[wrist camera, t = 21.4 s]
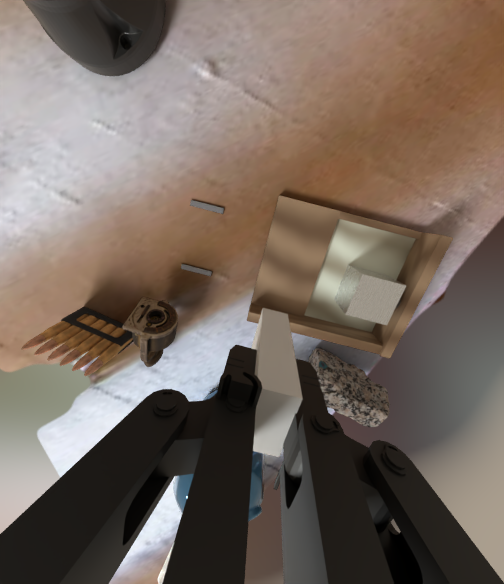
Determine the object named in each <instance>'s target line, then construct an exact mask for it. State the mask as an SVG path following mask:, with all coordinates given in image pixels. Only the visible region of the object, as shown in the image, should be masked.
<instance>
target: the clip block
mask: <svg viewBox="0 0 504 584" xmlns="http://www.w3.org/2000/svg"><path fill="white" fill-rule="evenodd" d="M405 288H406V285H404V284H402V283H401V282H399V281H397V280H395V279H393V278H391V277H389V276H387V275H386V274H382V273H378V272H375V271H371V270H367V269H363V268H359V267H356V266H352V265H348V266H347V268H346V271H345V273H344V276H343V278H342V281H341V283H340V286H339V288H338V291H337V294H336V296H335V299H334V300H335V301H336V303H337V304H338V305H339V307H340V308H341V309H342V311H343V312H344V313H345V315H349V316H353V317H356V318H360V319H364V320H368V321H372V322H376V323H380V324H383V325H387V324H388V322H389V320H390V318H391V316H392V314H393V312H394V310H395V309H396V308H397V307H398V306H399V305H400V303H401V296H402V294H403V292H404V290H405Z"/></svg>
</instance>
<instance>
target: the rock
mask: <svg viewBox="0 0 504 584" xmlns="http://www.w3.org/2000/svg"><path fill="white" fill-rule="evenodd" d="M308 362H310V363H311V365H312V366H313V367H314V369H315V370H316V372H317V376H318V380H319V382H320V388H321V389H322V393H323V396H324V399H325V403H326V406H327V407H329V408H332V409H334V410H335V411H337V412H338V413H340V414H342V415H345V416H347V417H351V418H352V419H354V420H355V421H357V422H358V423H360V424H361V425H363V426H368V427H377V426H378V425H379V424H380V423H382V422H383V421H384V420H385V419H386V418H387V417H388V414H389V402H388V394H387V393H388V392H387V390H386V389H385V388H384V387H382V386H380V385H379V384H375V383H374V382H372V381H371V380H370V379H369V378H368V377H367V376H366V374H365V373H364V371H363V370H361V369H359V368H357V367H356V366H354V365H351V364H347V363H345V362H344V361H342V360H341V359H339V358H338V357H337V356H335V355H333V354H332V353H330V352H327V351H324V350H323V349H319V348H316V349H314V350H313V353H312V354H311V356H310V357H309V361H308Z"/></svg>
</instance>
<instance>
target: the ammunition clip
mask: <svg viewBox="0 0 504 584" xmlns="http://www.w3.org/2000/svg"><path fill="white" fill-rule="evenodd" d="M123 325H124V324H122V323H120V322H118V321H115V320H113V319H111V318H109V317H106V316H104V315H102V314H100V313H97V312H95V311H93V310H90V309H88V308H86V307H83V308H81V309H79V310H77V311H75V312H74V313H72V314H70V315H68V316H67V317H65V318H63V319H62V320H61V322H59V323H57V324H55V325H54V326H52V327H50V328H48V329H47V330H45V331H44V332H43V333H41V334H39V335H38V336H36V337H34V338H33V339H31V340H30V341H28V342H27V343H26V344H25V345H24V346H23V347H22V350H24V349H29V348H32V347H35V346H37V345H39V344H41V343H43V342H45V341H47V340H49V339H51V340H50V341H48V342H47V343H45V344H44V345H43V346H41V347H40V348H39V349H38V350H37V351H36V352H35V354H34V355H39V354H42V353H45V352H47V351H49V350H51V349H53V348H55V347H57V346H59V345H60V344H63V343H65V342H66V343H65V344H63V345H62V346H60V347H59V348H58V349H56V350H55V351H54V352H53V353H52V354H51V355H50V356H49V357H48V359H47V360H53V359H55V358H58V357H60V356H62V355H63V354H65V353H66V352H68V351H70V350H72V349H74V348H76V347H77V348H76V349H74V350H73V351H72V352H71V353H69V354H68V355H67V356H66V357H65V358H64V359H63V360H62V361H61V363H60V366H62V365H65V364H68V363H70V362H72V361H73V360H75V359H76V358H78V357H79V356H81V355H82V354H84V353H86V352H88V351H89V352H88V353H87V354H85V355H84V356H83V357H82V358H81V359H80V360H79V361H78V362H77V363H76V364H75V365H74V367H73V369H72V371H74V370H78V369H80V368H82V367H83V366H85V365H86V364H88V363H89V362H90V361H92V360H93V359H94V358H96V357H98V356H99V357H98V358H97V359H96V361H94V362H93V363H92V364H91V365H90V366H89V368H88V369H87V370H86V372H85V374H84V375H85V376H87V375H90V374H91V373H93V372H95V371H96V370H98V369H99V368H100V367H101V366H103V365H104V364H105V363H106V362H108V361H110V360H111V359H112V358H113V357H114V356H115V355H116V354H119V353H120V352H121V351H122V350H124V349H125V348H126V347H127V346H128V345H130V344H131V343H132V342H133V338H132V332H131V331H128V330H124V329H123ZM52 338H53V339H52Z"/></svg>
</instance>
